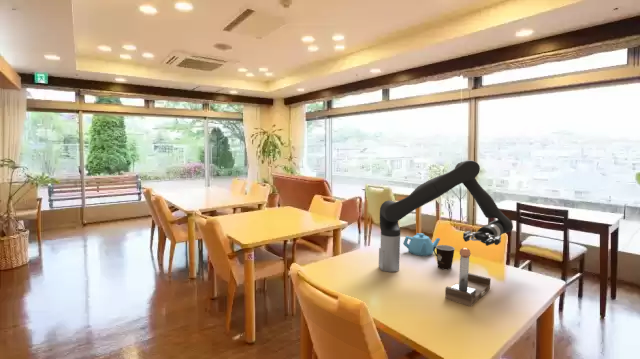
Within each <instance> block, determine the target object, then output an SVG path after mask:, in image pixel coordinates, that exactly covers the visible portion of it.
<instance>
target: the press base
mask: <svg viewBox="0 0 640 359" xmlns="http://www.w3.org/2000/svg"><path fill="white" fill-rule="evenodd" d="M491 281H492V280H491V278H489V277H486V276H483V275H478V274H474V273H470V272H468V287H469V288H473V289H476V294H475V295H474V296H473V294H471V293H468V292H464V291H461V290H458V289H454V288H451V287H452V286H446V287H445V292H444V293H445V297H444V298H445V300H449V301H453V302H456V303H459V304H461V305H465V306H468V307H472V306H473V305H474V304H475V303H476V302H477V301H479V300H480V298H483V297H484V296H485V294H486V293H487V292H488V291H489V290H490V289H491Z"/></svg>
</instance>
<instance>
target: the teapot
mask: <svg viewBox="0 0 640 359" xmlns="http://www.w3.org/2000/svg"><path fill="white" fill-rule="evenodd" d="M409 240H410V241H409ZM408 241H409V243H408ZM440 241H441V238H440V237H436V238H435V240H434V241H432V239H430V236H427V235H425V233H422V232H420V233H419V232H416V234H415V235H413V237H412V236H409V235H408V236H407V235H406V236H405V238H404V240H403V242H402V243H403V245H404V247H405V248H407V249H408V251H409V253H410V254H411V255H416V256H421V257H425V256H426V257H427V256H430V255H432V254H433V253H434V251H433V248H434V247H436V246H438V245H439V242H440ZM435 250H436V248H435Z"/></svg>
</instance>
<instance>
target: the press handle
mask: <svg viewBox="0 0 640 359" xmlns="http://www.w3.org/2000/svg"><path fill="white" fill-rule="evenodd" d="M471 254H472V252H471V251H470V249H469V248H467V247H462V248H461V249H460V250H459V256H460V257H459V258H460V259H459V274H458V275H459V276H458V283H455V284H453V285H452V286H450V287H451V288H454V289H458V290H461V291H464V292H468V293H471V294H473V296H474V295H475V294H476V289H473V288H469V287H468V273H469V269H470V267H469V266H470V257H471Z"/></svg>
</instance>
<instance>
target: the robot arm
mask: <svg viewBox="0 0 640 359" xmlns="http://www.w3.org/2000/svg"><path fill="white" fill-rule="evenodd" d="M480 170H481V167H480V164H479V163H478V162H477V161H475V160H470V159H469V160H468V159H467V160H464V161H460V162H459V163H457V164H456V165H455V166H454V169H452V170H451V171H448V172H446V173H443V174H441V175H438V176H435V177H433V178H431V179H428V180H426V181H424V182H423V183H422V184H419V185H418V186H417V187H416V188H415V189H414V190H412V192H411V193H410V194H409V195H407V196H406V197H404V198H402V199H400V200H398V201H393V200H385V201H384V202H382V203H381V205H380V206H379V228H380V247H378V248H379V249H378V268H379V269H380V270H381V271H382V272H390V273H393V272H394V273H395V272H398V271H400V256H401V255H400V254H401V253H400V252H401V249H400V248H401V228H400V226H399V221H401V220H402V219H403V218H405V217H406V216H407V215H409V214H410V213H412V212H413V211H415V210H417V209H419V208H420V207H423V206H425V205H426V204H428V203H430V202H432V201H434V200H436V199H438V198H439V197H441V196H443V195H444V194H446V193H448V192H450V190H452V189H454V188H455V187H456V186H459V185H461V184H463V186H464V188H466V190H467V191H468V192H469V193H470V195H471V196H472V197H473V199H474V200H475V202H476V203H477V205H478V206H479V209H480V210H481V211H482V213H483V215H484V217H485V218H487V219H491V218H495V219H496V220H495V219H494V220H493V221H490V222H488V224H485V225H484V226H482V227H480V228H479V229H477V231H476V232H475V231H474V232H472V231H471V230H468V231H465V232H463V234H462V235H463V236H462V239H463V241H464V242H469V241H474V242H475V241H476V242H481V243H482V244H484V245H485V246H488V247H489V246H491V245H494V246H497V245H500V244H501V242H502V235H504V234H506V233H509V232H512V231H513V229H514V224H513V222H512V220H510V218H508V217H507V216H506V215H505V214H504V213H503V212H502V210H500V208H499V207H498V205H497V204H496V202H495V200H494V199H493V197H492V196H491V195H490V194H489V193H488V192H487V191H486V190H485V189H484V188H483V187H482V185H480V183H479V182H478V180H477V179H476V177H478V175H479V174H480Z"/></svg>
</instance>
